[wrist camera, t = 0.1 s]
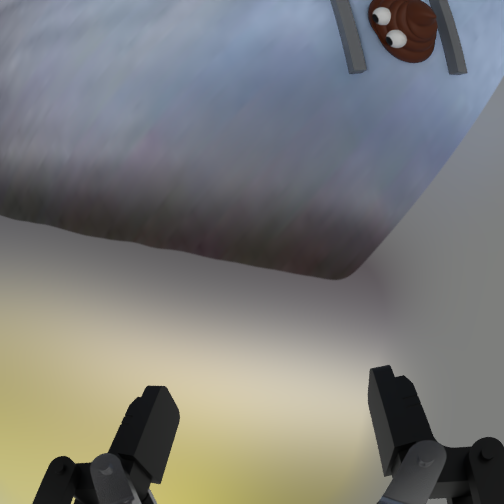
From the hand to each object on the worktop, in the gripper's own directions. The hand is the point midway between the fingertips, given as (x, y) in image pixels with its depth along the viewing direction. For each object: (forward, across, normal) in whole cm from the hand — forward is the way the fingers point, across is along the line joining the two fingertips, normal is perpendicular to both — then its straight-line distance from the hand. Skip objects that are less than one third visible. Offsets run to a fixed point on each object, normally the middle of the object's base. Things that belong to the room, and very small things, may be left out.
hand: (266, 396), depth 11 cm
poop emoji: (+30, -20, -21) cm, 41 cm away
